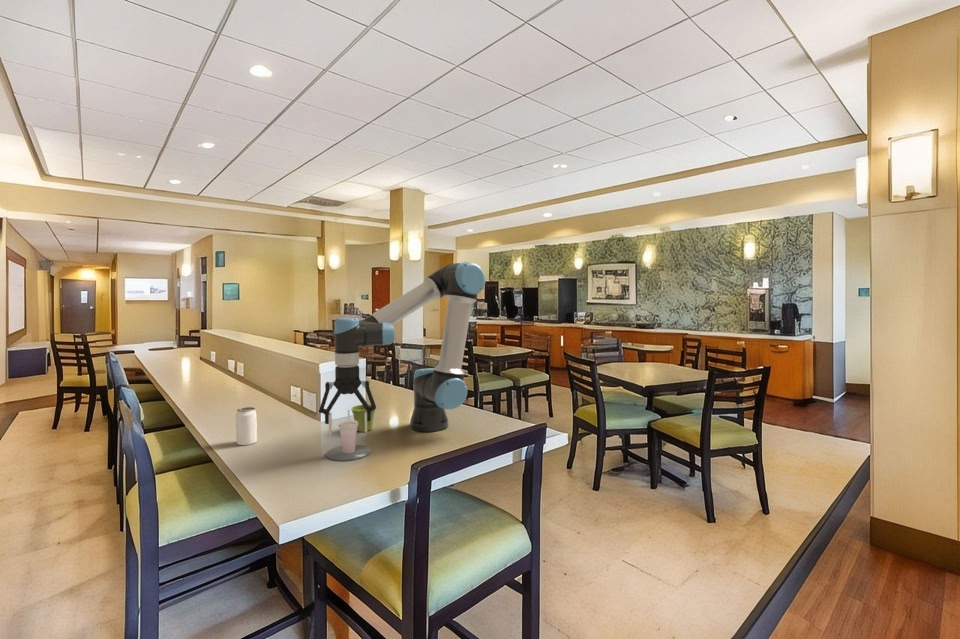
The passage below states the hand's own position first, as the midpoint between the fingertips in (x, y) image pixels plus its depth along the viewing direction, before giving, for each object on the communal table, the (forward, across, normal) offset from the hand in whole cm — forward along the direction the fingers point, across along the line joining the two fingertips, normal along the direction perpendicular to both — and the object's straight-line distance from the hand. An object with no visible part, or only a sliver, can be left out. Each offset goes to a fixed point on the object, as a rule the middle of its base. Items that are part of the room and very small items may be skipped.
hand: (348, 432), depth 152 cm
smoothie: (+7, 0, 0) cm, 7 cm away
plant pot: (+7, -5, -26) cm, 27 cm away
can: (+7, +35, -20) cm, 41 cm away
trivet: (+7, 0, 0) cm, 7 cm away
